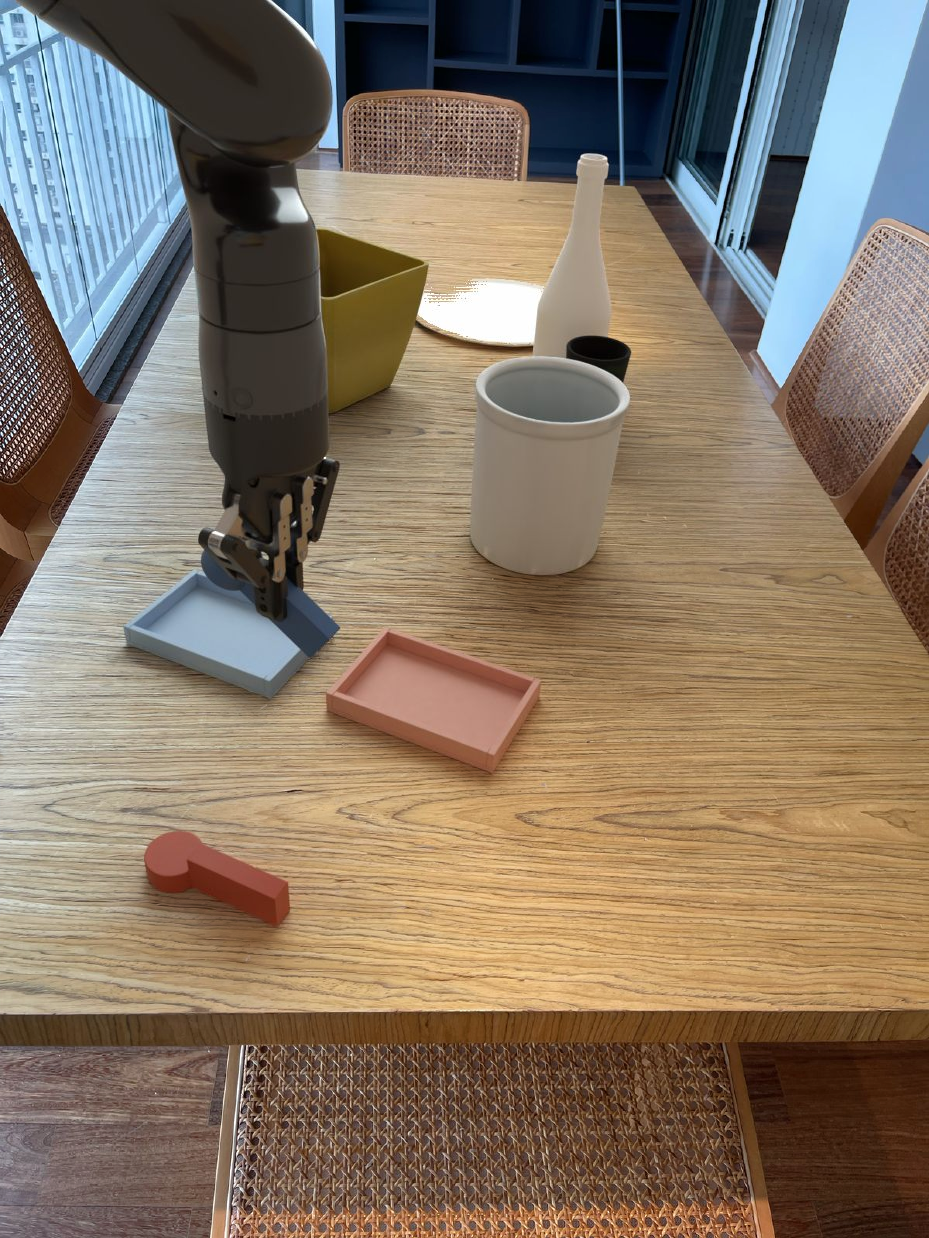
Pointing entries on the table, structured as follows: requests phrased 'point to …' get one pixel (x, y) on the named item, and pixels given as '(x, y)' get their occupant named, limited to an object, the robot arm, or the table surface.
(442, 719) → the tray pink
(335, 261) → the flower pot
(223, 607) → the tray blue
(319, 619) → the spoon blue
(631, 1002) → the table surface
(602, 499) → the utensil holder
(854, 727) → the table surface
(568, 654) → the table surface
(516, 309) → the plate
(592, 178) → the wine bottle
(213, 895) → the spoon red
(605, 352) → the cup
